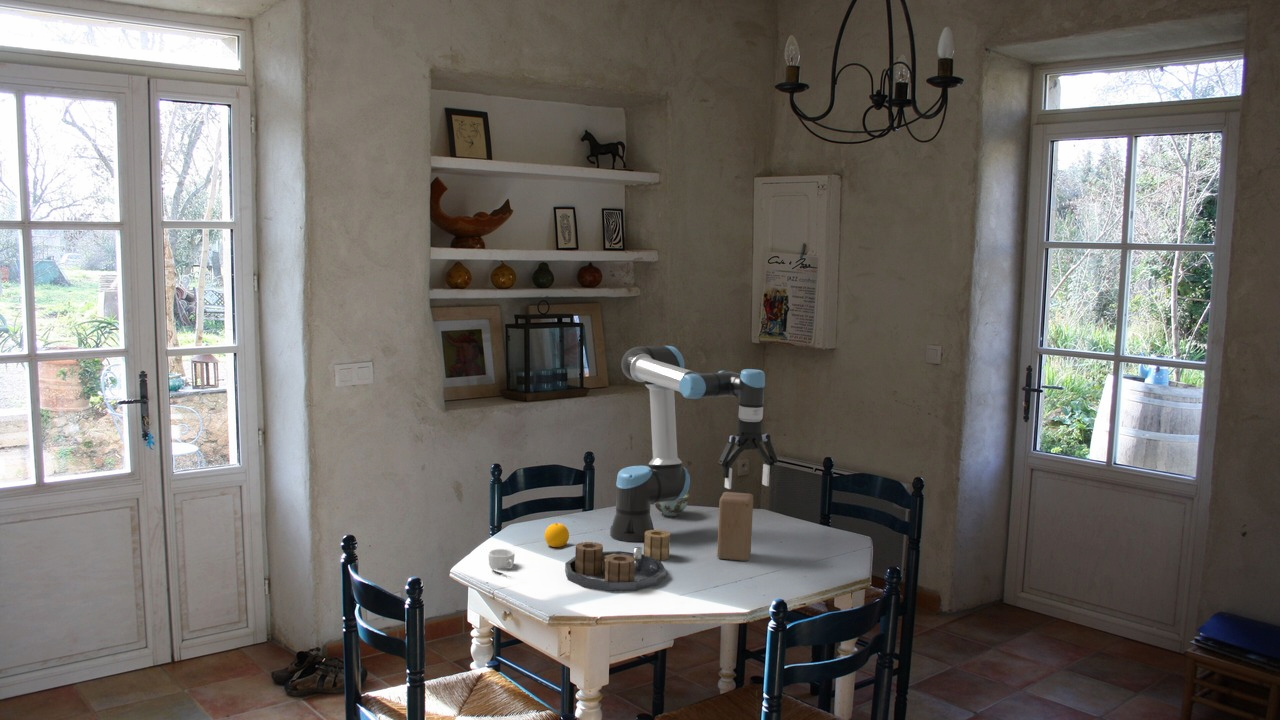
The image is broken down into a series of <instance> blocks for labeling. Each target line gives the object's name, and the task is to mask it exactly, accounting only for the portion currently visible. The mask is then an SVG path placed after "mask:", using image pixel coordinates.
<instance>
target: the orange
mask: <svg viewBox="0 0 1280 720" xmlns="http://www.w3.org/2000/svg"><path fill="white" fill-rule="evenodd" d="M569 538H570V532H569V530H568V528H567V527H566V525H564V524H563V523H559V522H556V523H551V524H550V525H548V526H547V527H546V529H545V531H544V540H545V542H546V544H547V545H548V546H550V547H554V548H561V547H564V546H565V545H566V544H568V541H569Z"/></svg>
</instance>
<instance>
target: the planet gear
mask: <svg viewBox="0 0 1280 720" xmlns="http://www.w3.org/2000/svg"><path fill="white" fill-rule="evenodd" d="M643 543H644V544H643V554H644V555H646V556H649V557H651V558H654V559H657V560H659V561H664V560H668V559H669V558H670V550H671V549H670V548H671V547H670V545H671V544H670V543H671V532H669V531H666V530H662V529H654V530H649V531H646V532H645V536H644V541H643Z"/></svg>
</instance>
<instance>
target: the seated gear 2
mask: <svg viewBox="0 0 1280 720" xmlns="http://www.w3.org/2000/svg"><path fill="white" fill-rule="evenodd" d="M634 569H635V559H634V558H633V557H632V556H629V555H623V554H622V555H620V554H616V555H609V556H608V557H606V559H605V581H634Z"/></svg>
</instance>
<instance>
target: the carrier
mask: <svg viewBox="0 0 1280 720" xmlns="http://www.w3.org/2000/svg"><path fill="white" fill-rule="evenodd" d="M642 551H643V548H642V547H640V546H634V547H633V552H629V551H624V550H620V551H619V550H618V551H617V550H615V551H611V550H609V551H603V560H602V572H601V573H598V574H593V575H585V574H580V573H576V572H575V556H573V557H572V558H571V559H569V560H568V561H566V562H565V563H564V565H565V566H564V572H565V577H566V578H567V581H569V582H571V583H573V584H575V585H577V586H580V587H581V588H583V589H590V590H596V591H601V592H602V591H603V592H607V593H608V592H636V591H641V590H645V589H649V588H653V587H657V586H658V585H659V584H660V583H661V582H663V580H664V579H665V578H666V567H665V566H664V564H663V563H662V562H661V561H662V560H657V559H654V558H651V557H649V556H646V555H644V553H643V554H642ZM616 554H620V555H622V554H623V555H629V556H632V557H633V558H634V559H635V569H634V581H605V559H606V557H608V556H609V555H616Z"/></svg>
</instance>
